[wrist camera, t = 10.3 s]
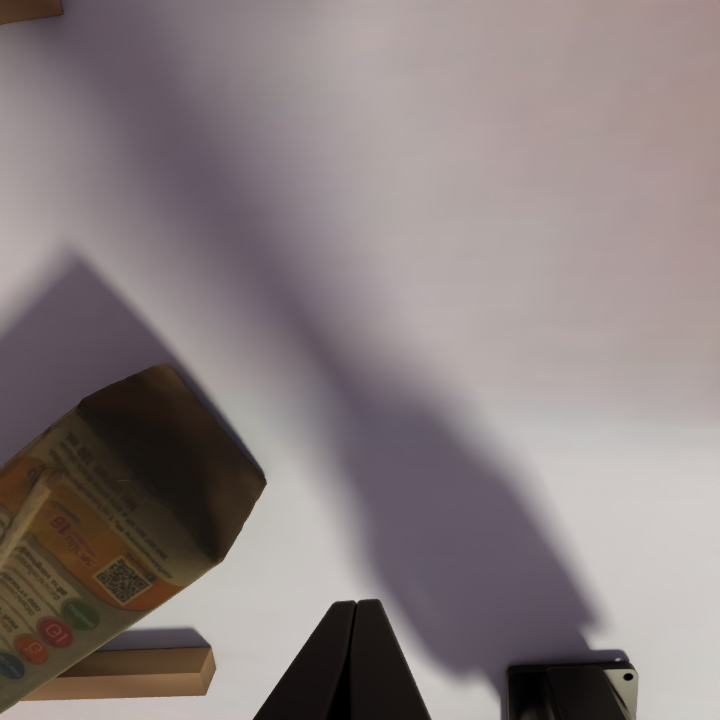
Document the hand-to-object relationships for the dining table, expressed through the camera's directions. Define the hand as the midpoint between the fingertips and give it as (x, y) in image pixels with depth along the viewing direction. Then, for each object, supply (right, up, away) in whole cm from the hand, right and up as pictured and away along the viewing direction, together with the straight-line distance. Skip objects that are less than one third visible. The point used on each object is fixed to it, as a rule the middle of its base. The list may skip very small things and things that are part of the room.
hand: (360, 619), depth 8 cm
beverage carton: (-14, -4, +15) cm, 21 cm away
